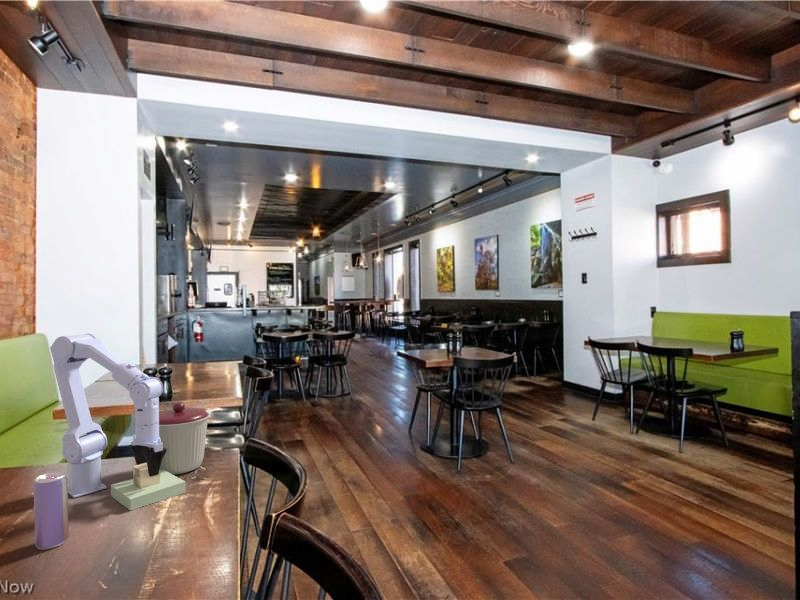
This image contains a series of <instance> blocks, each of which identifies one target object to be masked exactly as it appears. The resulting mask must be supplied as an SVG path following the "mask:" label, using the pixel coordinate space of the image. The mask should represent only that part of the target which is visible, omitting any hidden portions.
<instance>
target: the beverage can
mask: <svg viewBox="0 0 800 600" xmlns="http://www.w3.org/2000/svg"><path fill="white" fill-rule="evenodd" d="M33 512H34V513H33V514H34V515H33V516H34V518H33V519H34V524H33V525H34V547H36V549H38V550H41V551H46V550H51V549H52V550H53V549H54V548H57V546H58V547H60V546H61V545H62V546H63V544H65V543H66V541H68V538H69V536H70V533H69V527H70V526H69V525H70V524H69V493H68V475H67V472H66V471H52V472H47V473H43V474H41V475H38V476H37V477H36V478H34V483H33Z"/></svg>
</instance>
